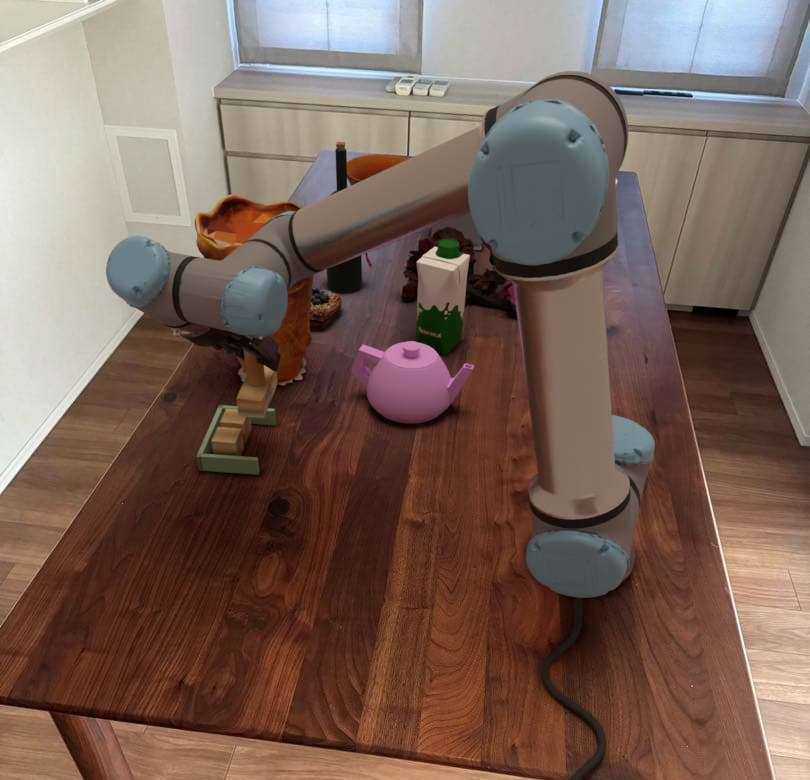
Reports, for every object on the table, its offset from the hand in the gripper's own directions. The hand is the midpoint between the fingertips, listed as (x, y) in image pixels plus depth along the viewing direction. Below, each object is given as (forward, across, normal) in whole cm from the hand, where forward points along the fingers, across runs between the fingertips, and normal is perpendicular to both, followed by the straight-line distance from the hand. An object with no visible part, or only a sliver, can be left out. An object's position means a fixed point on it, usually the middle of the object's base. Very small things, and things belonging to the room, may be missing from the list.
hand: (266, 360), depth 126 cm
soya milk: (+40, +16, +18) cm, 46 cm away
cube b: (+9, -6, -12) cm, 16 cm away
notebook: (+78, +4, +57) cm, 97 cm away
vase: (+24, -10, +2) cm, 26 cm away
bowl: (+84, -19, +63) cm, 106 cm away
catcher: (+8, -5, -14) cm, 16 cm away
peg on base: (+1, 0, -6) cm, 6 cm away
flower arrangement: (+56, +17, +34) cm, 68 cm away
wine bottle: (+51, -10, +30) cm, 60 cm away
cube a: (+6, -5, -16) cm, 17 cm away
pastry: (+40, -12, +18) cm, 46 cm away
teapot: (+24, +18, +2) cm, 30 cm away
